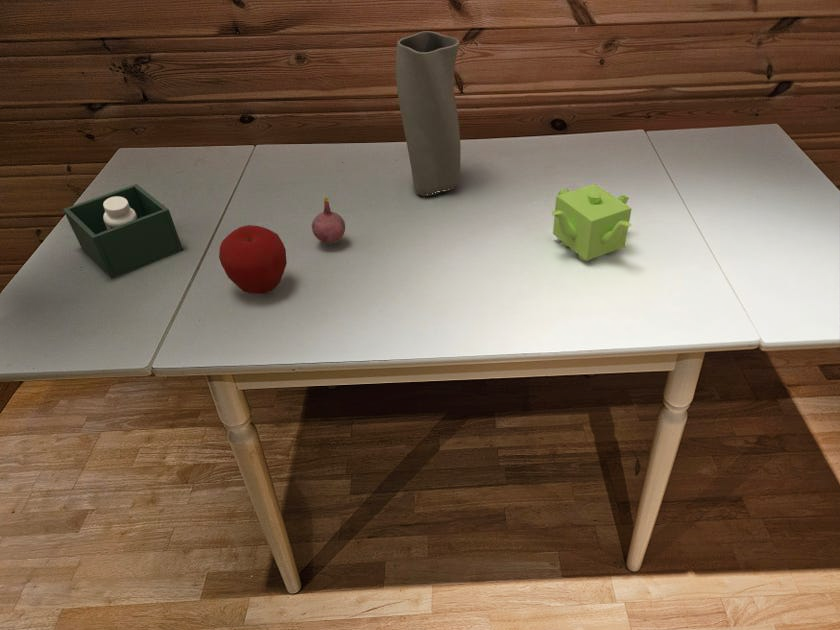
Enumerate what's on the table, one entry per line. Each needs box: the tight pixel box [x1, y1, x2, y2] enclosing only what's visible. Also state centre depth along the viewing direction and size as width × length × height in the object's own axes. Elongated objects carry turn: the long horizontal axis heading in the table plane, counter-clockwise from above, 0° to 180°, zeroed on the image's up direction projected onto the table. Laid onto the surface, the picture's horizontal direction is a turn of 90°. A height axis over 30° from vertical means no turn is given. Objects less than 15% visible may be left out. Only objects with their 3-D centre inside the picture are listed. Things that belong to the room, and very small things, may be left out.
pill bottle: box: [103, 196, 138, 230], centre depth 119 cm, size 5×5×10 cm
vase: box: [395, 30, 462, 197], centre depth 132 cm, size 12×12×30 cm
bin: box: [62, 183, 184, 280], centre depth 121 cm, size 14×14×9 cm
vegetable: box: [311, 195, 346, 245], centre depth 122 cm, size 6×6×10 cm
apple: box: [218, 224, 287, 295], centre depth 111 cm, size 11×11×12 cm
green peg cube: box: [550, 183, 632, 262], centre depth 122 cm, size 15×14×11 cm
